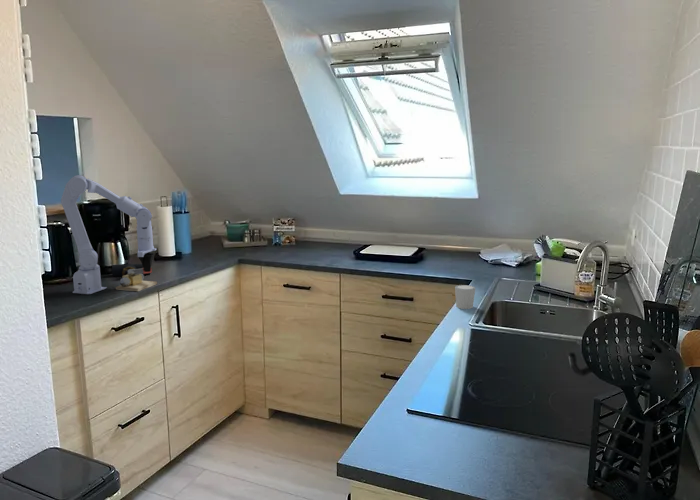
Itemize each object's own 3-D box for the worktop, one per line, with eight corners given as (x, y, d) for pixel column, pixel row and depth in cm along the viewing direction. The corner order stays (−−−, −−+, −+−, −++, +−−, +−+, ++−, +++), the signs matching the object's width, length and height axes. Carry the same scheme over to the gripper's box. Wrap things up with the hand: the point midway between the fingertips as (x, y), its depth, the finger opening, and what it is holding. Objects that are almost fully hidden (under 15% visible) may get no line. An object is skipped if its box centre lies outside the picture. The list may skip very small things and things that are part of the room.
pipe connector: (147, 266, 228) (108, 268, 225) (147, 279, 229) (109, 281, 225) (150, 262, 239) (113, 263, 236) (150, 273, 240) (114, 275, 236)
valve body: (129, 287, 210) (128, 278, 209) (118, 286, 212) (118, 277, 211) (145, 281, 220) (145, 272, 219) (135, 281, 221) (135, 271, 220)
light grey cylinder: (450, 305, 188) (450, 286, 187) (465, 302, 192) (465, 283, 190) (463, 310, 182) (464, 290, 181) (478, 307, 186) (479, 287, 185)
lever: (128, 275, 213) (128, 270, 213) (127, 274, 215) (126, 269, 215) (152, 272, 218) (151, 267, 218) (150, 271, 220) (149, 266, 220)
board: (137, 291, 208) (137, 288, 208) (115, 289, 211) (115, 287, 211) (157, 284, 219) (157, 281, 219) (136, 282, 222) (136, 280, 222)
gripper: (149, 240, 207) (152, 275, 210) (160, 235, 221) (162, 267, 224) (130, 241, 207) (133, 275, 209) (143, 235, 221) (145, 267, 223)
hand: (147, 271), depth 216 cm, fingers closed, pressing on lever
